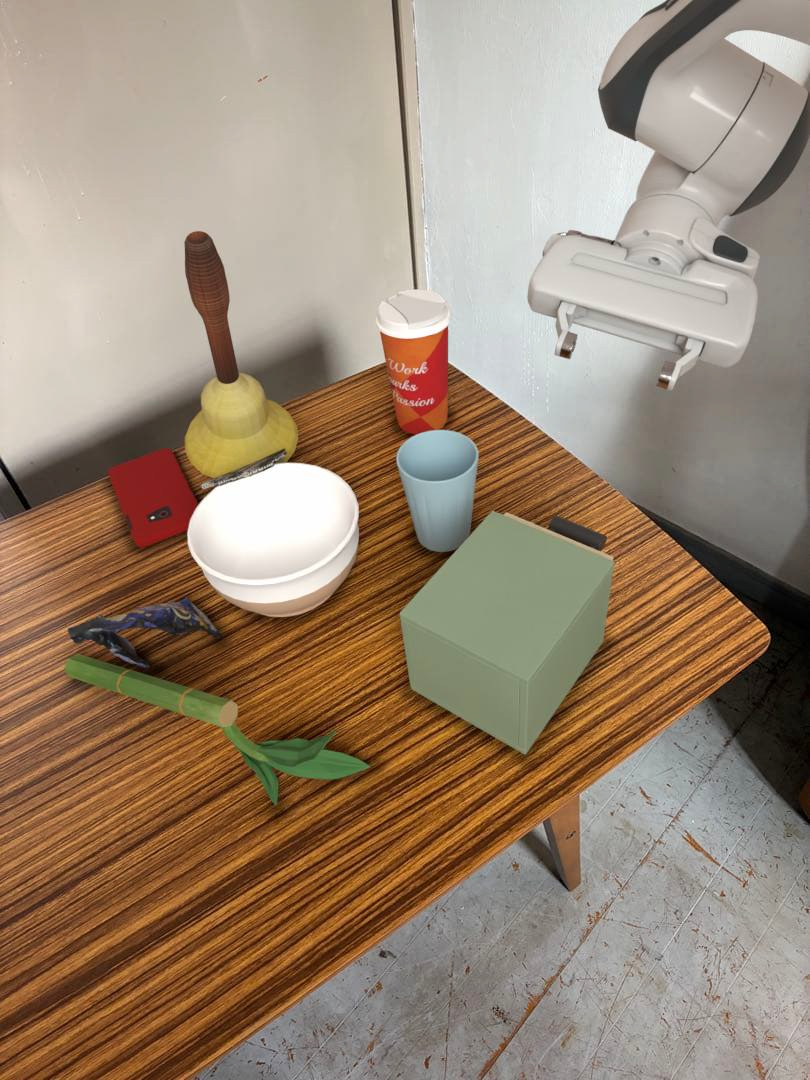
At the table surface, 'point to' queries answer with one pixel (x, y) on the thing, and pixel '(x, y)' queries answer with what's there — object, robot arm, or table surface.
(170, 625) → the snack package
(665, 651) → the table surface
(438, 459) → the cup
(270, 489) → the bowl
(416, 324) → the coffee cup
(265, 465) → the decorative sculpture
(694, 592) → the table surface
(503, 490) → the table surface
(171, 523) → the cell phone
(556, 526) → the beige drawer
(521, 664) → the cabinet
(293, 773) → the decorative plant
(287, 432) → the handbell
